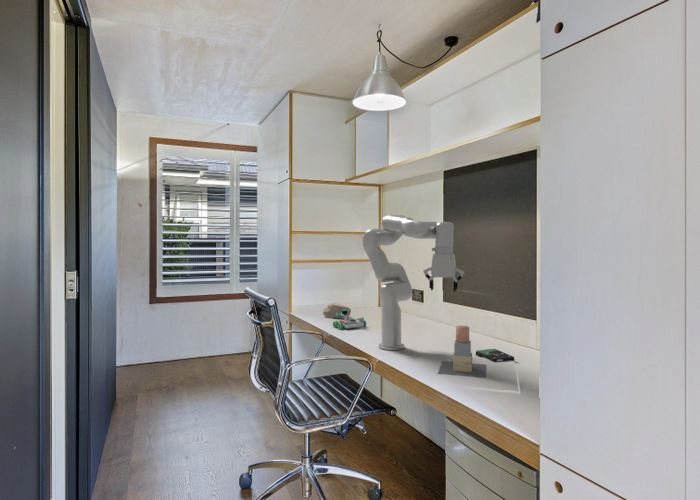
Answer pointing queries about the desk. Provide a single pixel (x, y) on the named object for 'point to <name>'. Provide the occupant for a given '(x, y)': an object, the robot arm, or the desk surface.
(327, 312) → the decorative stone
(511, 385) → the desk surface
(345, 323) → the robot kit
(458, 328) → the brown egg shape
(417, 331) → the desk surface
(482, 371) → the charcoal mat
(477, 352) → the disk drive
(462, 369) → the pale oak block
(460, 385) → the desk surface
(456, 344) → the slate grey block
